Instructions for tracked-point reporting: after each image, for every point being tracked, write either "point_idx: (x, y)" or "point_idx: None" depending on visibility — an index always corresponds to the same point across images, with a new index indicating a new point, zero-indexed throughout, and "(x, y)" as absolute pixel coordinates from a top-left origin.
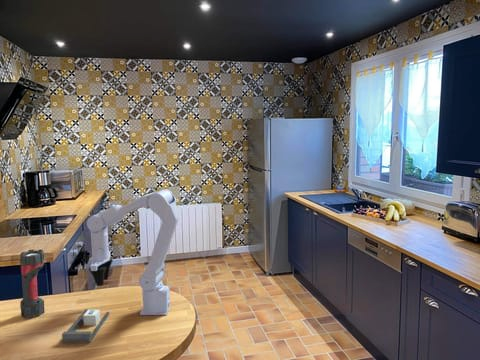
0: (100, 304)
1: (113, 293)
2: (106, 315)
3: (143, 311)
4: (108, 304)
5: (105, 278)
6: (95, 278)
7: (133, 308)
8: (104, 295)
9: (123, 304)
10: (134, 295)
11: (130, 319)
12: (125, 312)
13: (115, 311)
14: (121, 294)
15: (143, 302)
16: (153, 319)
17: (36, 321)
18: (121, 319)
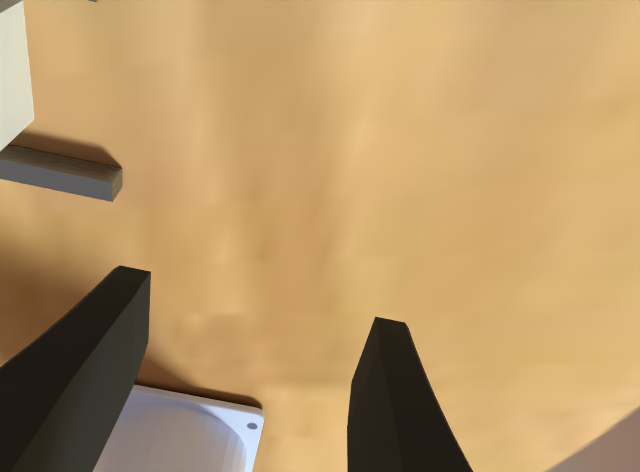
0: (366, 82)
1: (614, 191)
2: (41, 186)
3: (134, 403)
4: (343, 163)
5: (359, 382)
6: (29, 373)
7: (220, 344)
8: (609, 101)
9: (309, 282)
10: (469, 352)
11: (45, 327)
12: (157, 298)
13: (181, 230)
14: (544, 262)
15: (114, 468)
16: None
17: None
18: (41, 276)
